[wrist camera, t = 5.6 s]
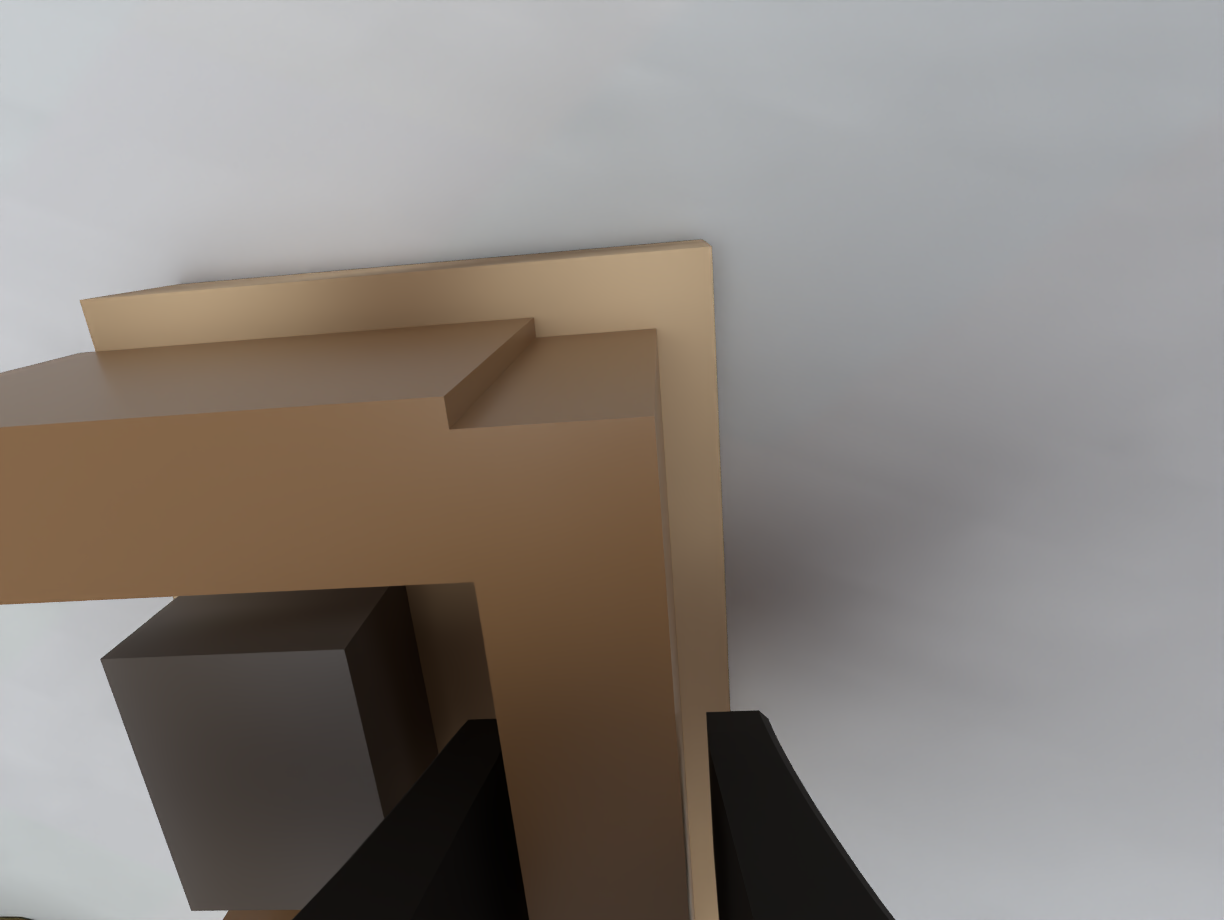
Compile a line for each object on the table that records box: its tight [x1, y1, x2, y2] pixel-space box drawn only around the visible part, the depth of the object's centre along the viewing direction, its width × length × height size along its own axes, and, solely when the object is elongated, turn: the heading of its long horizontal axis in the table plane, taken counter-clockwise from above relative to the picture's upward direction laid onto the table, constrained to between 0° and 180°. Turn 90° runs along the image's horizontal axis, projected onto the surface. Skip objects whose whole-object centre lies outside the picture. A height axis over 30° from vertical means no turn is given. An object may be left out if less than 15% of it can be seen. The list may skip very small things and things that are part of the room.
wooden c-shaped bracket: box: [0, 317, 695, 920], centre depth 9 cm, size 8×10×4 cm
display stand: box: [80, 239, 730, 920], centre depth 11 cm, size 8×12×4 cm, turn 5°
